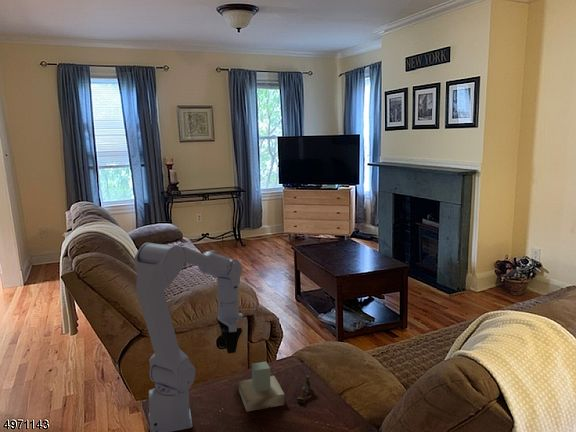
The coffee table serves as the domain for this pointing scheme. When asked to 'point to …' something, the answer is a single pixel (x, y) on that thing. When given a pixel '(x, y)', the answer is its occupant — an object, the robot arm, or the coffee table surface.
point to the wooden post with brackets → (304, 390)
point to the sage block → (260, 376)
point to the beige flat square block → (261, 395)
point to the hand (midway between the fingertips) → (229, 346)
